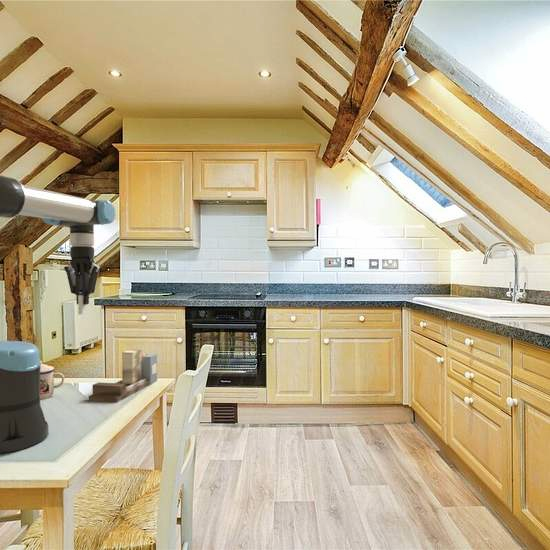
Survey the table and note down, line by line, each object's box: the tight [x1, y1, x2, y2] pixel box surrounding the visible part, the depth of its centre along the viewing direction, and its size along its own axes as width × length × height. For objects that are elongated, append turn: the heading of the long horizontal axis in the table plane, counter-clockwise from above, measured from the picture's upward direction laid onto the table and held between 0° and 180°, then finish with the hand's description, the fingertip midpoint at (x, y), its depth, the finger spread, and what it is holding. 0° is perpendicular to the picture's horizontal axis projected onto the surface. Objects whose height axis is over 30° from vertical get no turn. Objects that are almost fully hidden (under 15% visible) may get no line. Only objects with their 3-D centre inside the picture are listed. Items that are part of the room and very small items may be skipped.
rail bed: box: [88, 378, 154, 403], centre depth 139 cm, size 26×10×4 cm, turn 169°
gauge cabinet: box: [142, 353, 158, 385], centre depth 150 cm, size 5×10×10 cm, turn 79°
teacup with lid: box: [40, 360, 65, 401], centre depth 133 cm, size 12×9×12 cm
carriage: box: [121, 348, 142, 384], centre depth 143 cm, size 6×4×11 cm, turn 169°
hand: (82, 313), depth 140 cm, fingers closed
